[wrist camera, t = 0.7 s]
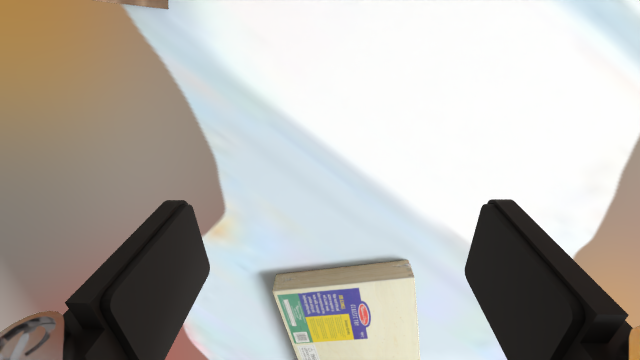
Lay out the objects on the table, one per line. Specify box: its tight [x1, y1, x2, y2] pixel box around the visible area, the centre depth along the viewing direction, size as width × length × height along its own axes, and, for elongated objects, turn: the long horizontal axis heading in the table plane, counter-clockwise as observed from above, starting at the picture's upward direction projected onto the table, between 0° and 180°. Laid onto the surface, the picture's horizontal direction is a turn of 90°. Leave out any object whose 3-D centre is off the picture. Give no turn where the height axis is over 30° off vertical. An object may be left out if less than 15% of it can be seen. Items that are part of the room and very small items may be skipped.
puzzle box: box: [272, 260, 420, 360], centre depth 56 cm, size 36×5×24 cm
